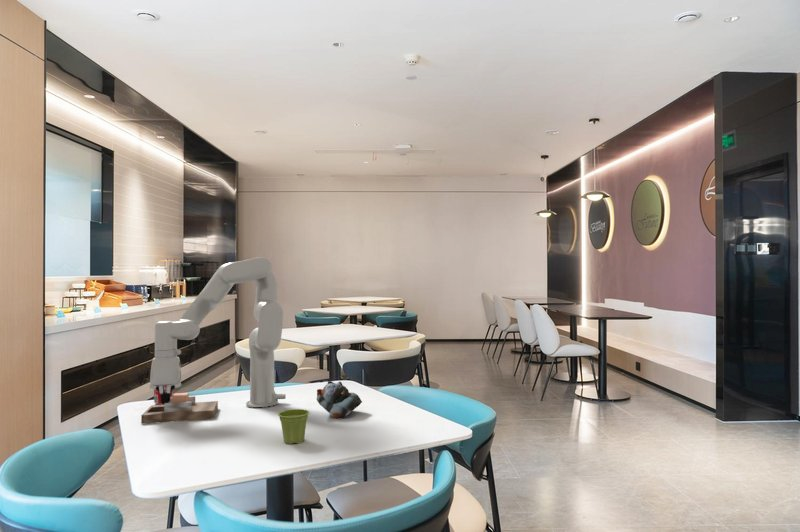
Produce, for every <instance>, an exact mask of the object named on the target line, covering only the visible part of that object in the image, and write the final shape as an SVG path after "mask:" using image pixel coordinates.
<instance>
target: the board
mask: <svg viewBox="0 0 800 532" xmlns="http://www.w3.org/2000/svg"><path fill="white" fill-rule="evenodd" d="M218 403H219V401H217V400H214V401H199V402H198V401H197V402H196V395H192V396H191V395H189V402H176V403H172V397H170V403H165V404H164V405H157V404H154V405H153V404H152V405H150V406H149V407H148V408H147V410H145V411H144V412H143V413H142V414H141V420H140V422H141V423H147V424H157V423H156V422H160V423H171V422H170V421H174V422H185V420H188V421H197V420H200V419H201V420H212V419H211V418H214V419H215V416H216V414H217V412H216V411H218V409H219V406H218ZM141 423H140V424H141Z"/></svg>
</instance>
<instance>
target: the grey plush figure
mask: <svg viewBox="0 0 800 532" xmlns="http://www.w3.org/2000/svg"><path fill="white" fill-rule="evenodd" d="M316 401H317V402H318V404H319V405H320V407H322V408H323V409H324V410H325V411H326V412H328V413H329V414H330V416H331V417H332V418H333V419H335V418H343V419H345V418H346V417H348V416H349V415H350V414H351V413H352V412H353V411H354V410H355V409H357V408H358V407H359V406H360V405H361V404H362V403H363V400H362V399H361V397H360V396H359V395H358V394H357V393H355V392H350V391H349V389H348V388H347V387H346V386H345V385H343V383H342V381H338V382H334V381H332V380H328V381H327V383H326V384H325V385H324V387H323V388H317V390H316Z"/></svg>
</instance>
